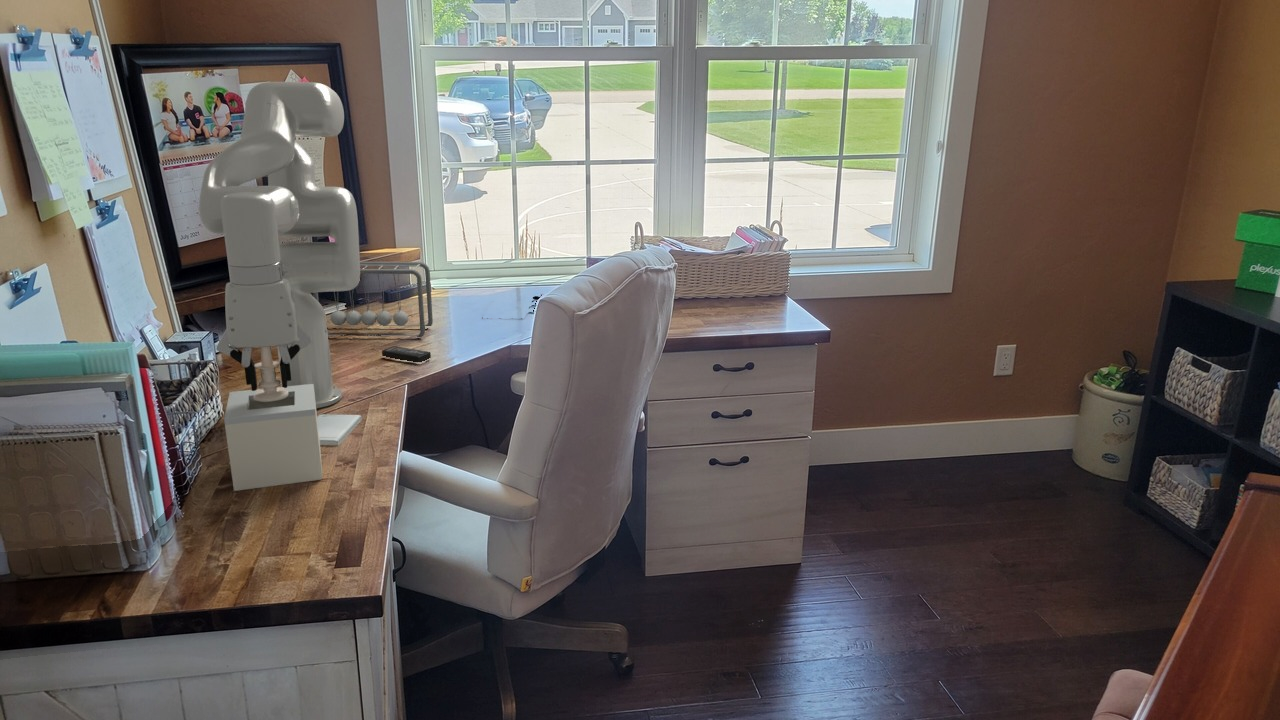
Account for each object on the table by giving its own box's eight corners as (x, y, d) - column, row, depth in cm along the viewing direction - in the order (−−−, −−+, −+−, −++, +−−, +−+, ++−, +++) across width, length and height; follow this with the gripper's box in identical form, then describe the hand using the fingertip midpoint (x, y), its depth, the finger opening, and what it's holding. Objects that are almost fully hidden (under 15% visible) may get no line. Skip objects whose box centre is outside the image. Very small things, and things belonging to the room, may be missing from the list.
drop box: (238, 459, 149) (229, 391, 145) (320, 449, 153) (313, 383, 150) (234, 491, 137) (224, 418, 134) (322, 479, 142) (315, 409, 138)
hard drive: (318, 414, 167) (291, 438, 155) (361, 414, 167) (337, 439, 155) (319, 422, 167) (292, 447, 155) (362, 423, 167) (338, 448, 155)
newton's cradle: (433, 329, 230) (429, 261, 224) (425, 340, 220) (420, 269, 214) (317, 328, 229) (310, 260, 224) (303, 339, 219) (296, 269, 214)
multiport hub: (419, 366, 200) (418, 356, 199) (381, 360, 204) (380, 350, 204) (431, 361, 204) (431, 351, 203) (394, 355, 208) (393, 345, 208)
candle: (291, 390, 144) (284, 329, 141) (284, 401, 140) (277, 338, 136) (258, 391, 144) (250, 330, 141) (249, 402, 139) (241, 339, 136)
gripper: (313, 266, 142) (324, 374, 147) (198, 272, 136) (214, 385, 142) (314, 275, 135) (325, 388, 141) (193, 282, 130) (210, 400, 135)
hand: (269, 385), depth 141 cm, fingers closed on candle, 3 cm apart
